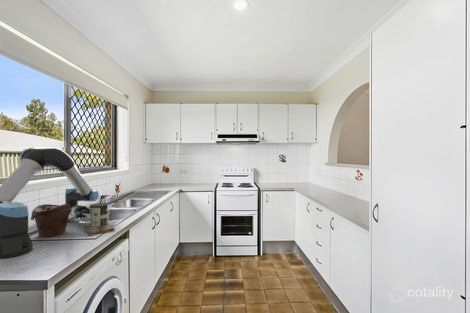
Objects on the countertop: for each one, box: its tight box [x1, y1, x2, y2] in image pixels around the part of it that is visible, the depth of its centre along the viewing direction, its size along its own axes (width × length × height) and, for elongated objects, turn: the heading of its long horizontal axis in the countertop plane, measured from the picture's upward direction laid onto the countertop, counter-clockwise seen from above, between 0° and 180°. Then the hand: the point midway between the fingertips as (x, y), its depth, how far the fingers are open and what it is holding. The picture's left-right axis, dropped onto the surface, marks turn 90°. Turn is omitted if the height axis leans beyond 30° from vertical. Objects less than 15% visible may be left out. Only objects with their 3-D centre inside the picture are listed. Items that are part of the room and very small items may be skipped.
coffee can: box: [89, 202, 109, 228], centre depth 165 cm, size 10×10×14 cm
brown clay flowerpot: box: [29, 203, 72, 238], centre depth 149 cm, size 18×20×18 cm
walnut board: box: [84, 224, 116, 236], centre depth 154 cm, size 14×11×2 cm
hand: (99, 214), depth 165 cm, fingers open, 13 cm apart
